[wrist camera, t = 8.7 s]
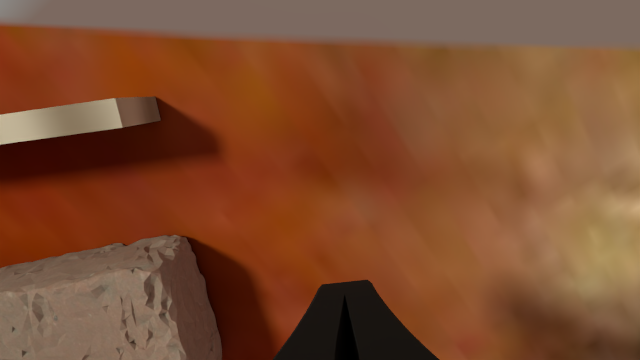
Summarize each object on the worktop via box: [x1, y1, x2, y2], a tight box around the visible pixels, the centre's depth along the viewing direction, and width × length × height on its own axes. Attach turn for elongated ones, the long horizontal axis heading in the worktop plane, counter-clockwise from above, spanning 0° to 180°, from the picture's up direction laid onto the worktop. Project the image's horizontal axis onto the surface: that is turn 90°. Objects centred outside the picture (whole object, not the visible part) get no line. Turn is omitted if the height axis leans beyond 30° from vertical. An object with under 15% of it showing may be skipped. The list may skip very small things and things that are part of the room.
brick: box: [0, 235, 222, 360], centre depth 20 cm, size 17×8×5 cm, turn 101°
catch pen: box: [0, 97, 161, 145], centre depth 20 cm, size 17×22×4 cm
